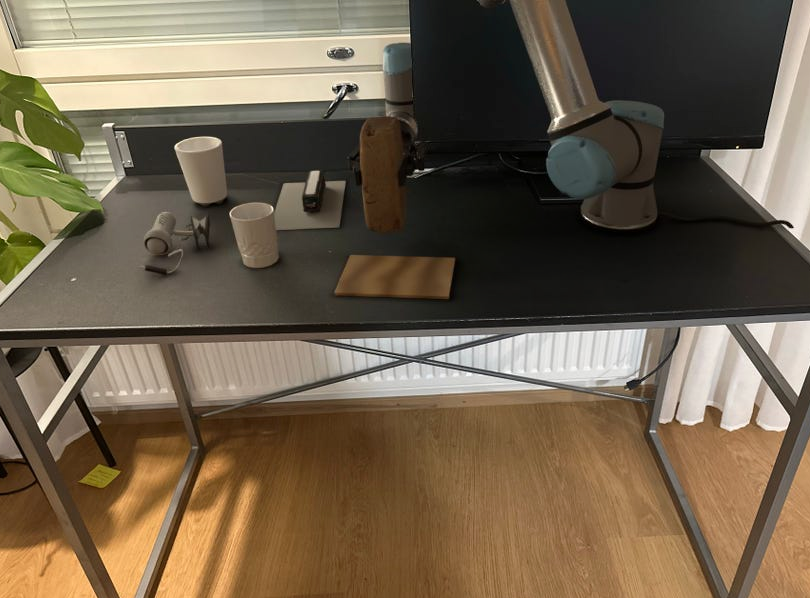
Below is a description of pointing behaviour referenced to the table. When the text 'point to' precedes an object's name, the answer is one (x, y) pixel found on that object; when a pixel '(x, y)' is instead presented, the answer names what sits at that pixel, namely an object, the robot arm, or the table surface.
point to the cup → (203, 169)
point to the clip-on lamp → (161, 235)
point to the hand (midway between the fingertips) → (379, 178)
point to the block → (382, 174)
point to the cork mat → (397, 277)
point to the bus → (310, 203)
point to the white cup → (255, 234)
